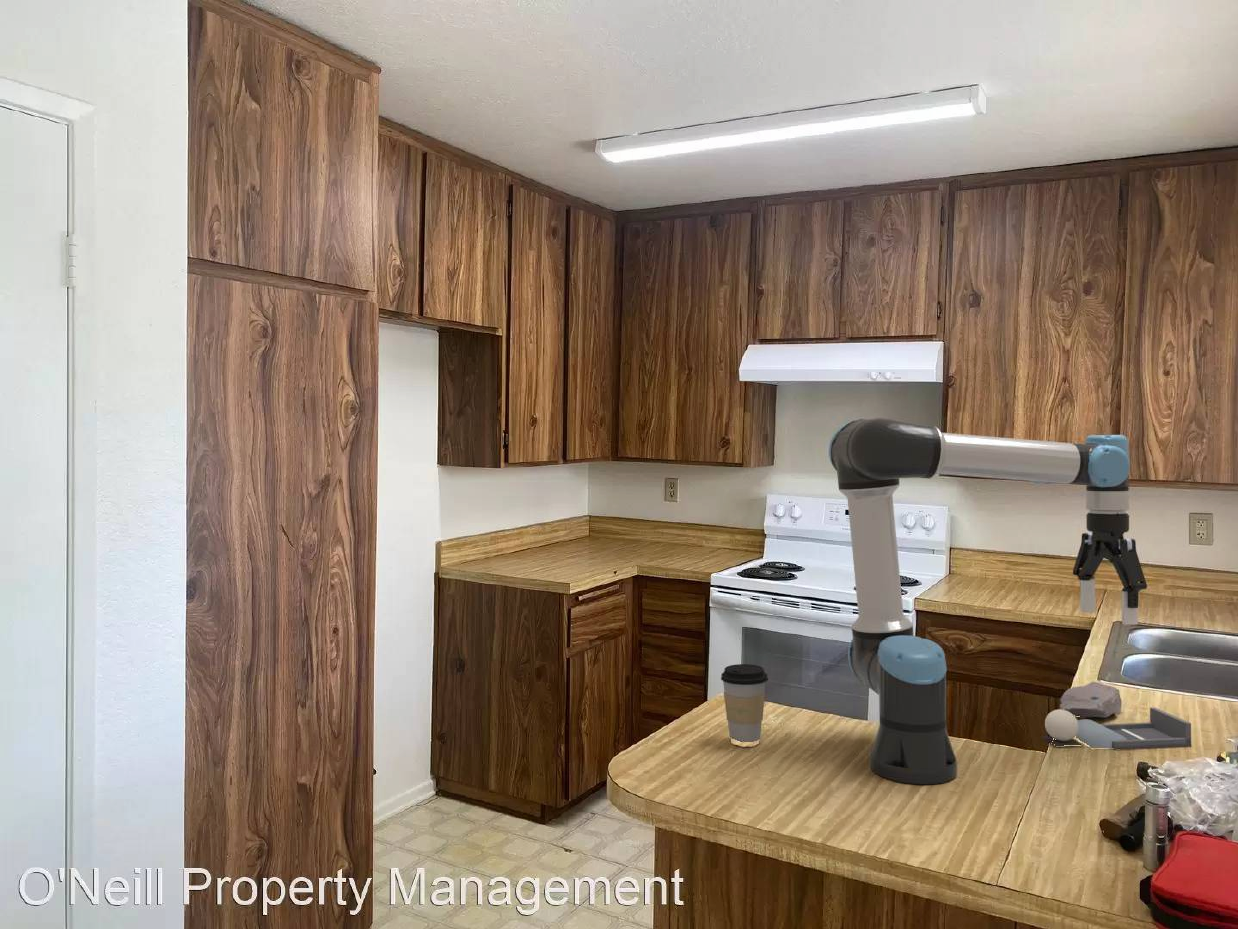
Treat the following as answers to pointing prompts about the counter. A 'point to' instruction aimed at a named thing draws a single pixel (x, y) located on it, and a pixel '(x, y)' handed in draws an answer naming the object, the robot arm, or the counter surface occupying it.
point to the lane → (1153, 732)
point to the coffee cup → (744, 700)
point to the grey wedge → (1096, 734)
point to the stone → (1092, 700)
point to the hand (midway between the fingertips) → (1108, 618)
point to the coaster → (1060, 743)
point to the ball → (1061, 725)
